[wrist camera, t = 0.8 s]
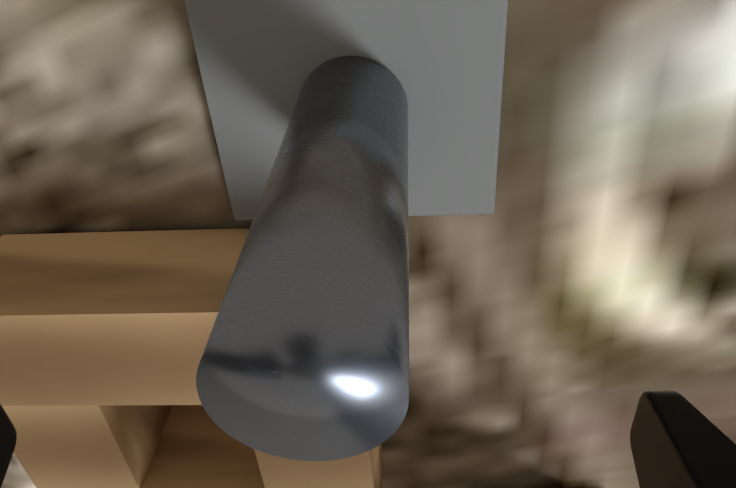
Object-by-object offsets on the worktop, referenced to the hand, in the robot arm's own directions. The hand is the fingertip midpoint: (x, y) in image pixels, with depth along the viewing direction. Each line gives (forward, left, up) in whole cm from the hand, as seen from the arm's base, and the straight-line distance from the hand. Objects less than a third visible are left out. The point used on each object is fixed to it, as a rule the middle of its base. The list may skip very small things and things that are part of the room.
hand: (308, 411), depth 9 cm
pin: (0, 0, -10) cm, 10 cm away
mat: (0, 0, -11) cm, 11 cm away
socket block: (-10, +6, -11) cm, 16 cm away
